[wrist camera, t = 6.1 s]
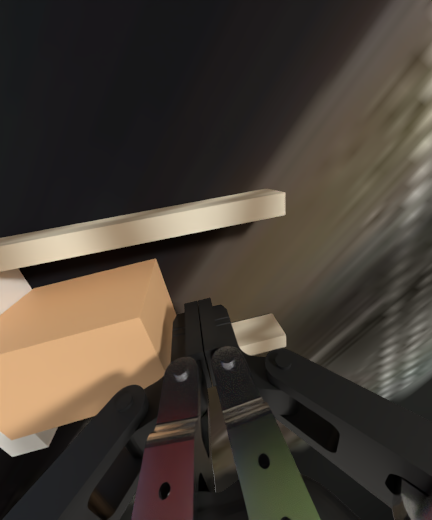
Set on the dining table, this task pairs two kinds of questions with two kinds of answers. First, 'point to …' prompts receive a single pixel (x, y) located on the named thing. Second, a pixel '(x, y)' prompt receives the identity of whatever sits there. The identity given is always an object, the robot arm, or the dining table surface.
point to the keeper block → (82, 346)
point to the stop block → (3, 297)
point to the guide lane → (152, 229)
